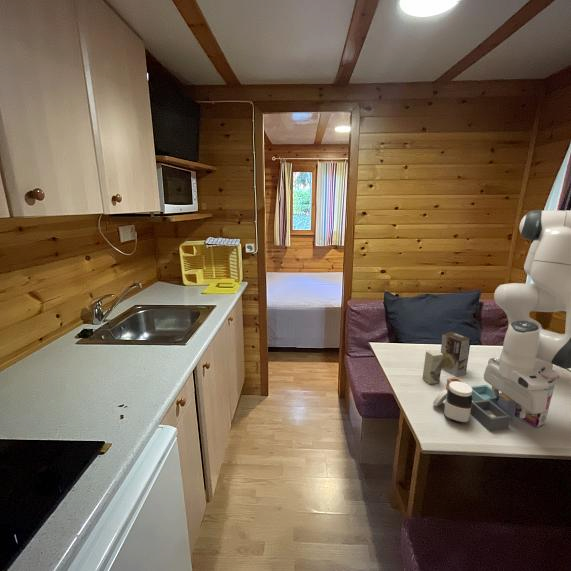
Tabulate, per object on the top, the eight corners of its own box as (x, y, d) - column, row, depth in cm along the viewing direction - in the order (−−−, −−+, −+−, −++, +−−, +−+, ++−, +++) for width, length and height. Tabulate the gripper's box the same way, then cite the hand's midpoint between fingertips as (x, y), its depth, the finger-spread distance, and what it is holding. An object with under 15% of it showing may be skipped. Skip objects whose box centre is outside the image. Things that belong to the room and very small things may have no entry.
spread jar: (469, 429, 100) (474, 398, 97) (430, 418, 106) (434, 388, 102) (468, 408, 110) (473, 379, 107) (433, 399, 116) (437, 371, 113)
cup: (455, 388, 122) (457, 377, 120) (463, 395, 118) (465, 383, 116) (445, 389, 121) (447, 378, 120) (453, 396, 117) (454, 385, 116)
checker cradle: (484, 408, 110) (486, 397, 109) (508, 428, 100) (510, 416, 99) (466, 410, 109) (468, 399, 108) (489, 431, 99) (491, 419, 98)
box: (429, 384, 125) (432, 355, 121) (421, 379, 129) (425, 350, 125) (440, 382, 126) (444, 354, 123) (432, 377, 130) (436, 349, 127)
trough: (485, 393, 119) (486, 384, 118) (502, 406, 111) (503, 397, 110) (466, 395, 118) (467, 386, 117) (482, 408, 110) (483, 399, 109)
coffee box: (466, 373, 132) (472, 338, 128) (456, 377, 130) (461, 341, 126) (447, 363, 140) (452, 330, 136) (437, 367, 138) (442, 333, 133)
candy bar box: (546, 424, 102) (556, 380, 98) (537, 428, 100) (547, 384, 96) (510, 404, 112) (519, 363, 108) (501, 408, 110) (509, 367, 106)
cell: (504, 414, 107) (509, 390, 104) (513, 421, 104) (518, 396, 101) (495, 415, 106) (500, 391, 104) (504, 422, 103) (509, 397, 101)
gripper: (482, 356, 109) (476, 390, 113) (536, 389, 90) (527, 429, 93) (497, 354, 110) (491, 389, 114) (554, 386, 91) (545, 427, 94)
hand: (508, 407), depth 103 cm, fingers open, 8 cm apart
